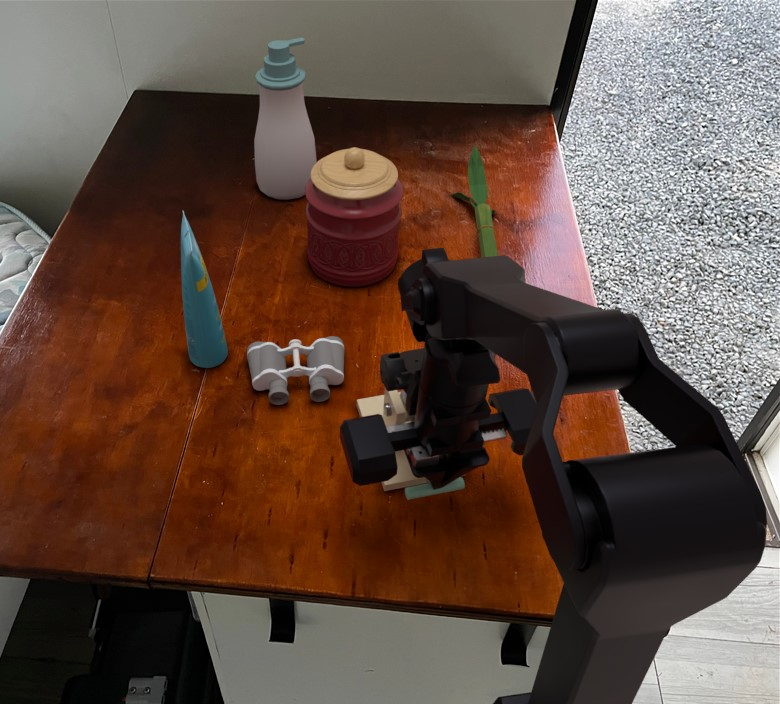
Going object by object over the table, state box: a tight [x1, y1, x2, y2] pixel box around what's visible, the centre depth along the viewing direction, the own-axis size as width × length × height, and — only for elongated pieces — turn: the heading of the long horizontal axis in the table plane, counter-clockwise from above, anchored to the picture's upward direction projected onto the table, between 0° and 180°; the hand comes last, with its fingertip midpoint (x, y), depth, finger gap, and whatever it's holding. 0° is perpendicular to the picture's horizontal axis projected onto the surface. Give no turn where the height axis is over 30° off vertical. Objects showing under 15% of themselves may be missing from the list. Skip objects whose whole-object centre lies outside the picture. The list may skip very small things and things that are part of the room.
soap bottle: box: [253, 36, 317, 201], centre depth 107 cm, size 10×10×23 cm
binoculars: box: [246, 335, 346, 406], centre depth 85 cm, size 12×8×4 cm, turn 94°
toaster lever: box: [399, 390, 466, 501], centre depth 74 cm, size 11×6×2 cm, turn 12°
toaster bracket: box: [356, 387, 467, 492], centre depth 77 cm, size 12×9×8 cm
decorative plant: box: [451, 145, 499, 257], centre depth 101 cm, size 6×8×30 cm
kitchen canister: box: [304, 146, 404, 288], centre depth 95 cm, size 13×13×18 cm
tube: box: [180, 210, 229, 369], centre depth 82 cm, size 7×5×19 cm, turn 19°
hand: (435, 485), depth 71 cm, fingers closed, pressing on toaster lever
